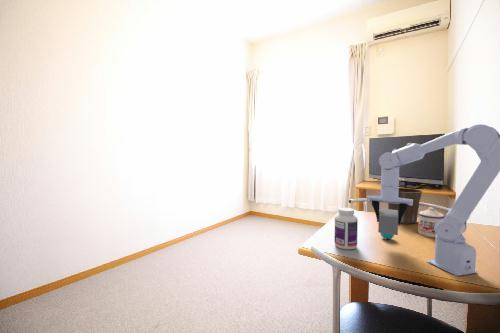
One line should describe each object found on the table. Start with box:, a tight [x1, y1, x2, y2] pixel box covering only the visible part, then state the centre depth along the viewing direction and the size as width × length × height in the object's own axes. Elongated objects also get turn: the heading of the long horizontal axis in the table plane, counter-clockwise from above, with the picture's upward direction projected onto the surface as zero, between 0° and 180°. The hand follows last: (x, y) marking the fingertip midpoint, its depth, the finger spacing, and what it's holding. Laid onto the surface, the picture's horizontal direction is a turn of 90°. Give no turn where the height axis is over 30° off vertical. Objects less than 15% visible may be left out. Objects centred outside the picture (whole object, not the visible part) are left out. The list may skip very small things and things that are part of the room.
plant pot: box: [387, 187, 424, 225], centre depth 128 cm, size 16×16×16 cm
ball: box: [380, 233, 395, 240], centre depth 103 cm, size 5×5×5 cm
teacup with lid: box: [417, 206, 446, 239], centre depth 106 cm, size 12×9×12 cm
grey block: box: [377, 207, 399, 236], centre depth 92 cm, size 11×6×6 cm, turn 151°
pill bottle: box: [334, 207, 359, 250], centre depth 95 cm, size 8×8×14 cm
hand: (388, 222), depth 92 cm, fingers closed on grey block, 6 cm apart
